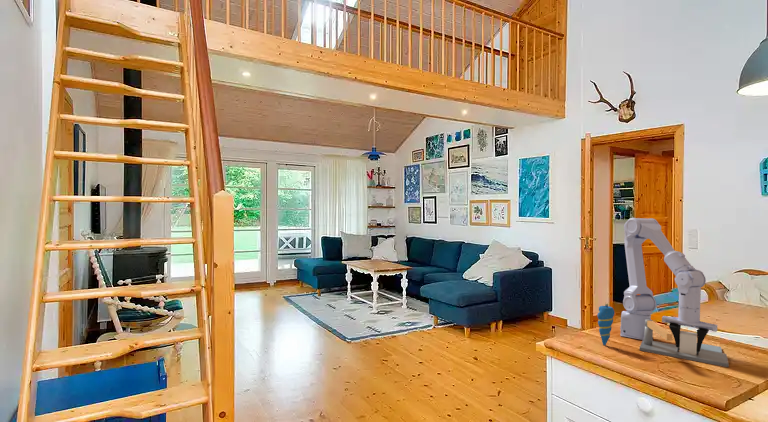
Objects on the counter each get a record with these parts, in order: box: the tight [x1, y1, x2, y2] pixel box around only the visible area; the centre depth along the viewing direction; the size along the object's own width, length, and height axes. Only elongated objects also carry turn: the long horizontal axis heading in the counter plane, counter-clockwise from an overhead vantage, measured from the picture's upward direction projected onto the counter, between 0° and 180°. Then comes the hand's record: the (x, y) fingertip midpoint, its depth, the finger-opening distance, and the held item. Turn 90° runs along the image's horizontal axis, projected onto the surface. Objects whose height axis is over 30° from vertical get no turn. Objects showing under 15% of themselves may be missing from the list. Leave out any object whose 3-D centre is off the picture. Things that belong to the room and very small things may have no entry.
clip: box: [645, 319, 673, 342], centre depth 136 cm, size 18×2×2 cm, turn 166°
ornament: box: [596, 303, 615, 346], centre depth 144 cm, size 5×5×15 cm
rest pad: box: [701, 343, 723, 353], centre depth 144 cm, size 8×8×1 cm
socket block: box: [638, 326, 729, 368], centre depth 138 cm, size 23×12×7 cm, turn 53°
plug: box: [679, 330, 697, 355], centre depth 137 cm, size 4×4×7 cm
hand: (688, 348), depth 137 cm, fingers closed on plug, 5 cm apart
